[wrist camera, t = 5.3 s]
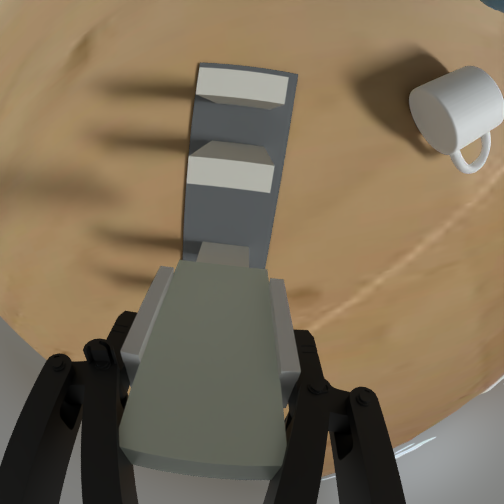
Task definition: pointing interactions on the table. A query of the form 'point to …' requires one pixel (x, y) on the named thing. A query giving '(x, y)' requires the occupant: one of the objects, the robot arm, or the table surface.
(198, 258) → the tile
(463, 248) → the table surface
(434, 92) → the mug
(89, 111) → the table surface
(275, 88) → the tile
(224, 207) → the strip
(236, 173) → the tile
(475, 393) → the table surface
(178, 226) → the table surface
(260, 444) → the tile
